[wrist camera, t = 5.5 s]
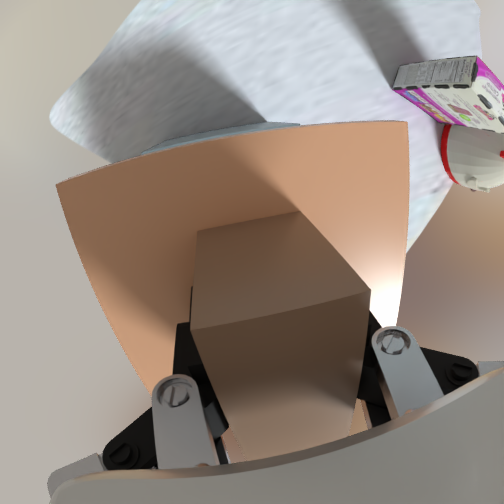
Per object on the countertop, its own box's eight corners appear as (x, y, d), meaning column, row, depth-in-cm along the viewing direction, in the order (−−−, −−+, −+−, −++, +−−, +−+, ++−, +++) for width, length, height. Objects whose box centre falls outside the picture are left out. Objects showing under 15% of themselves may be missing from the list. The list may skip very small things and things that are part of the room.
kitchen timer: (473, 194, 44) (530, 222, 30) (431, 169, 41) (498, 196, 27) (491, 130, 38) (549, 147, 25) (450, 96, 35) (518, 104, 22)
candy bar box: (446, 98, 35) (522, 108, 21) (439, 123, 37) (516, 139, 22) (398, 62, 32) (478, 53, 18) (389, 89, 34) (471, 89, 20)
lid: (82, 171, 10) (-39, 243, 4) (374, 118, 11) (516, 142, 4) (166, 382, 16) (161, 495, 9) (369, 338, 17) (427, 432, 10)
